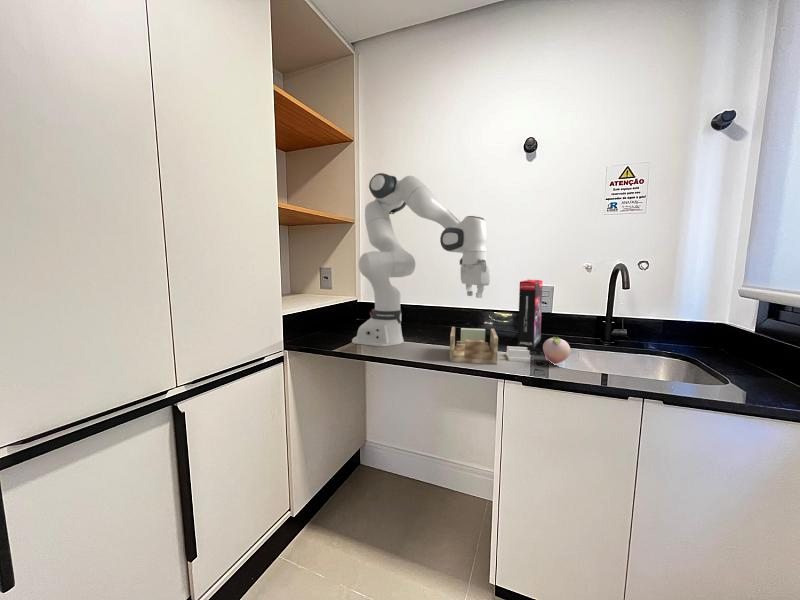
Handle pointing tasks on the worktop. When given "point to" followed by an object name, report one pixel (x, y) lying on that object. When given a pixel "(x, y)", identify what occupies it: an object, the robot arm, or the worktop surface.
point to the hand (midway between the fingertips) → (474, 296)
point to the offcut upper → (474, 345)
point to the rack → (487, 355)
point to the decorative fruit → (556, 349)
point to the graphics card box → (530, 313)
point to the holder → (518, 354)
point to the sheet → (472, 334)
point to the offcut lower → (472, 354)
